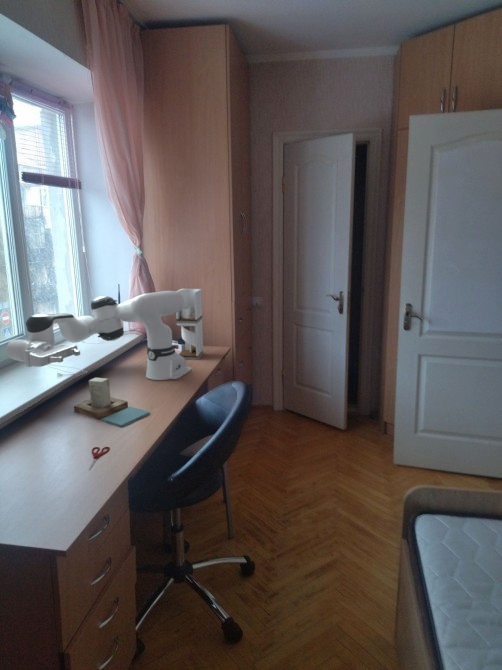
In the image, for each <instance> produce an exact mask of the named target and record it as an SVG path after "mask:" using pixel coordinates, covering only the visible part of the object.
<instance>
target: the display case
mask: <svg viewBox="0 0 502 670" xmlns="http://www.w3.org/2000/svg"><path fill="white" fill-rule="evenodd" d="M176 291H177V292H179V293H180V294H181V295H182V297H183V300H184V305H183V308H182V310H181V311H179V312H176V313H175V317H176V318H175V319H176V321H175V322H176V323H175V324H176V326H180V327H181V329H180V331H181V338H182V340H183V341H184V345H185V347H184V348H185V349H183V350H181V352H179V353H178V354H179V355H180V356H182V357H183V358H184V359H185V360H196V361H197V360H199V359H200V358H201V357H202V356H203V354H204V341H203V340H204V339H203V338H204V337H203V336H204V335H203V305H202V304H203V299H202V288H180V289H178V290H176Z"/></svg>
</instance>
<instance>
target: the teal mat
mask: <svg viewBox="0 0 502 670" xmlns="http://www.w3.org/2000/svg"><path fill="white" fill-rule="evenodd" d="M149 415H151V412H150V411H147V410H145V409H141V408H139V407H138V408H137V407H134V406H128V408H126V409H124V410H121V411H119V412H117V413H114V414H112V415H110V416H107V417H105V418H103V419H101V421H102V422H104V423H107V424H111V425H114V426H116V427H118V428H123V427H125V426H127V425H129V424H131V423H134V422H135V421H138V420H140V419H142V418H144V417H146V416H149Z"/></svg>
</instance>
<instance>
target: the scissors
mask: <svg viewBox="0 0 502 670" xmlns="http://www.w3.org/2000/svg"><path fill="white" fill-rule="evenodd" d="M105 449H106V450H105ZM95 450H96V451H95ZM100 450H101V451H100ZM110 450H111V448H110V446H104V447H102V449H101V448H100V447H99V446H95V447H92V449H91V454H92V457H93V458H92V459H93V460H92V463H91V464H90V467H89V468H88V470H91V469H92V467H93V466H94V464H95V463H96V461H97V460H98V459H100V458H101V457H102V456H104V455H105V454H107V453H108V452H109V451H110ZM99 451H100V452H99Z"/></svg>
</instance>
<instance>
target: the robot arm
mask: <svg viewBox="0 0 502 670" xmlns="http://www.w3.org/2000/svg"><path fill="white" fill-rule="evenodd" d="M177 291H178V290H176V291H175V290H162V291H156V292H147V293H142V294H139V295H136V296H134V297H133V298H129V299H127V300H125V301H123V302H121V303H117V302H118V300H116V299H114V298H113V297H111V296H106V295H103V296H102V295H100V296H97V297H96V298H95V299H93V300H92V301H91V303H90V309H91V310H92V313H93V314H92V315H93V316H92V315H81V316H76V317H75V316H74V314H72V313H50V314H49V313H48V314H43V313H38V314H37V313H35V314H33V315H30V316H29V317H28V318H27V319H26V321H25V326H26V330H27V334H28V335H27V336H28V339H12V340H10V341H9V342H8V343H7V346H6V354H7V356H8V358H9V359H12V360H14V361H18V362H23V363H25V366H26V367H29V368H30V367H37V368H40V367H45V366H48V365H50V364H54V363H58V364H59V363H62V362H64V359H66V358H69V357H72V356H78V357H79V356H80V355H81V351H80V350H79V349H78V345H77V344H76V343H80V342H83V341H85V340H87V339H88V338H91V336H93V335H95V334H96V335H97V338H101V339H102V340H104V341H107V342H115V341H117V340H119V339H120V338H121V337H123V336H124V333H125V332H124V327H123V324H122V322H125V323H126V322H127V323H135V322H141V323H142V324H143V326H144V328H145V331H146V338H147V341H146V342H147V346H146V354H147V360H146V370H145V373H146V374H145V378H146V379H149V380H153V381H154V380H155V381H165V380H177V379H179V378H181V377H182V376H184V375H185V374H187V373H189V372H191V371H192V368H191V367H190V366H188V365H187V362H186V359H184V358H183V357H182V356H180V355H179V353H178V352H176V350H179V348H180V345H179V344H173V330H172V328H171V327H170V326H169V325H168V324H165V323H164V322H163V319H162V317H165V316H170V315H174V314H176V312H179V311H181V310H182V308H183V305H184V300H183V297H182V295H181V294H180V293H179V292H177ZM121 321H122V322H121ZM54 324H57V326H58V328H59V332H60V334H61V336H62V337H63V338H64V339H65V340H66V341H68V342H70V343H61V344H60V343H59V344H58V345H56V340H55V333H54V332H55V331H54ZM74 343H75V344H74Z"/></svg>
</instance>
